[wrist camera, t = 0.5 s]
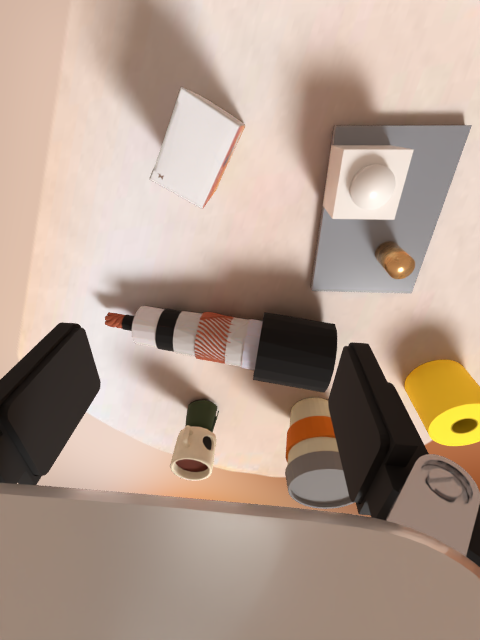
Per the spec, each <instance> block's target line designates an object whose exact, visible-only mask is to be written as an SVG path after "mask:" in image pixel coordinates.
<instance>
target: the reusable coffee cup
mask: <svg viewBox="0 0 480 640" xmlns="http://www.w3.org/2000/svg"><path fill="white" fill-rule="evenodd" d="M286 460H287V462H288V466H287V468H286V472H285V475H286V480H287V486H288V491H289V494H290V496H291V497H292V498H293V499H294V500H295V501H297V502H298V503H300V504H303V505H305V506H309V507H313V508H323V509H327V508H338V507H343V506H347V505H350V504H352V503H354V502H352V501H351V500H350V497H349V493H348V489H347V485H346V481H345V476H344V472H343V468H342V463H341V459H340V455H339V451H338V446H337V442H336V438H335V434H334V429H333V425H332V421H331V416H330V412H329V407H328V400H326V399H323V398H306V399H303V400H301V401H299V402H297V403H296V404H295V405H294V406H293V407H292V409H291V414H290V428H289V429H288V432H287V445H286Z"/></svg>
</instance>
